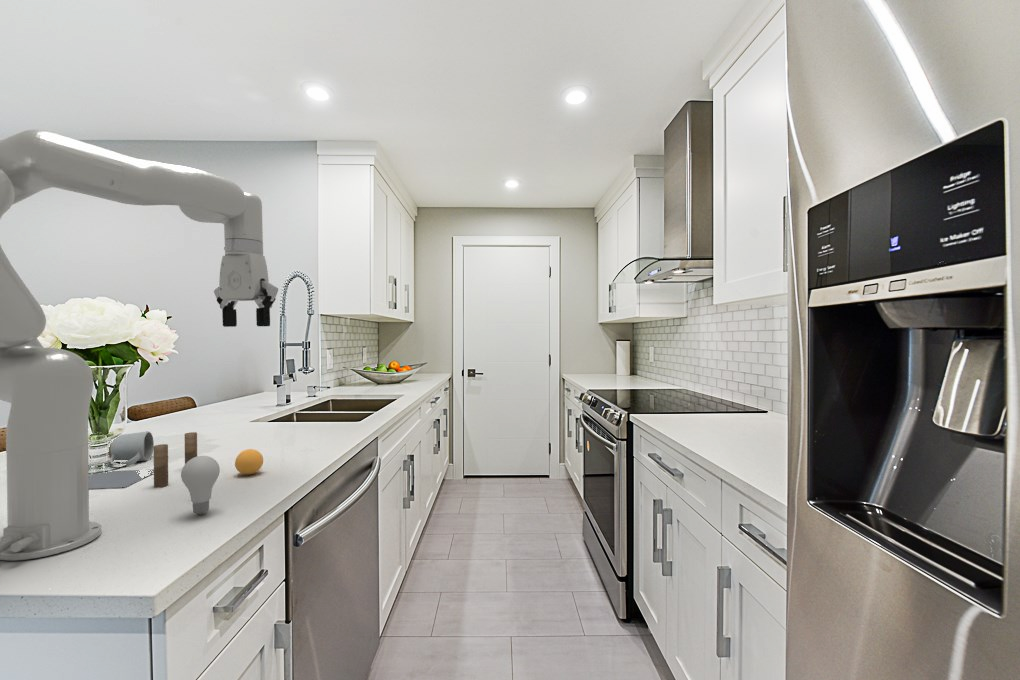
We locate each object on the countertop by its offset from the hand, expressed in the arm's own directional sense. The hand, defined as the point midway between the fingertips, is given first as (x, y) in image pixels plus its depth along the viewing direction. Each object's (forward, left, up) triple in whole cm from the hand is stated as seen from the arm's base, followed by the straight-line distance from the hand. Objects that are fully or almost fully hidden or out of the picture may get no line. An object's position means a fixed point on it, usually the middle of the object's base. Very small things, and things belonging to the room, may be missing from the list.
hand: (246, 326), depth 108 cm
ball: (+8, +3, -33) cm, 34 cm away
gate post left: (+1, +19, -36) cm, 40 cm away
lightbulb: (-18, +2, -36) cm, 40 cm away
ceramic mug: (+24, +37, -36) cm, 57 cm away
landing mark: (+8, +33, -36) cm, 49 cm away
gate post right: (+14, +19, -36) cm, 43 cm away
